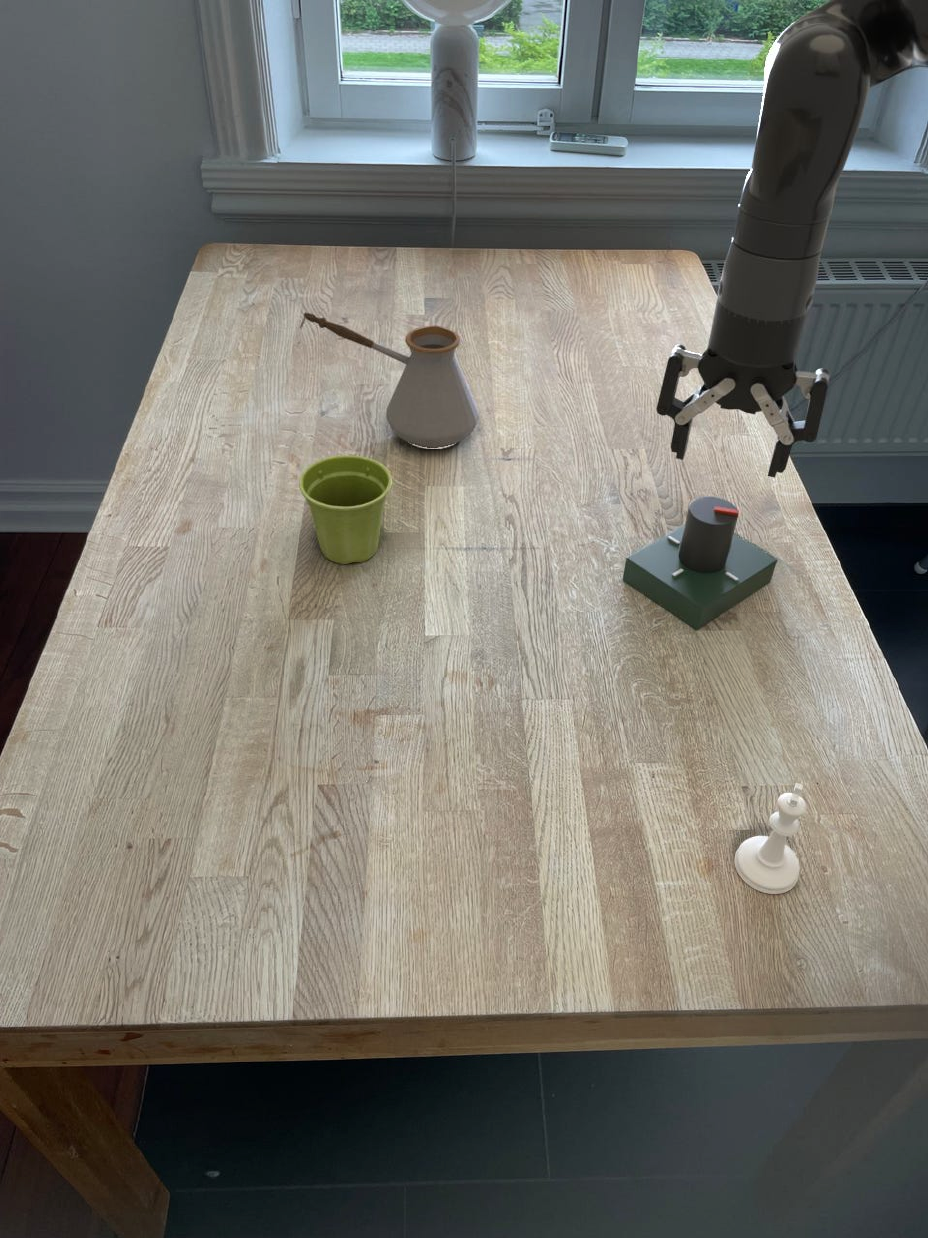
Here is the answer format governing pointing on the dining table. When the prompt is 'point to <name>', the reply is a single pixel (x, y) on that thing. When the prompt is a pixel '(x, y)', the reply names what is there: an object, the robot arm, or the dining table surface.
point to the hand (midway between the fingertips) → (725, 463)
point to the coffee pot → (424, 386)
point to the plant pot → (346, 505)
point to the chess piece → (773, 849)
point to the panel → (697, 578)
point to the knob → (708, 534)
